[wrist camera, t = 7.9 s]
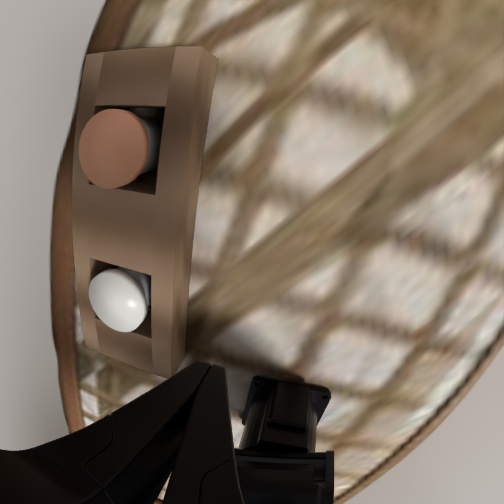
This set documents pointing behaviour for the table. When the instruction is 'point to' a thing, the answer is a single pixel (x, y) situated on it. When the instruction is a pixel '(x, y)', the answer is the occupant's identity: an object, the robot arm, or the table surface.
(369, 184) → the table surface
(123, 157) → the terracotta plunger
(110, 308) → the white domed knob
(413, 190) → the table surface
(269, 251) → the table surface
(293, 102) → the table surface
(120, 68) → the walnut panel
